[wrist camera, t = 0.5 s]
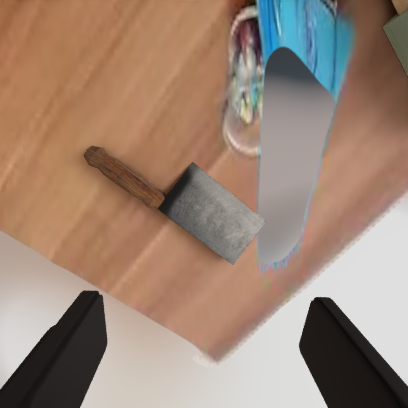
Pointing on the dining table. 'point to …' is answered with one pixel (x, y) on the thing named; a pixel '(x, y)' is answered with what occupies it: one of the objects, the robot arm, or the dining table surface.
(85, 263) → the dining table surface
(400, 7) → the drawer
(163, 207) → the meat cleaver
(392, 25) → the cabinet
